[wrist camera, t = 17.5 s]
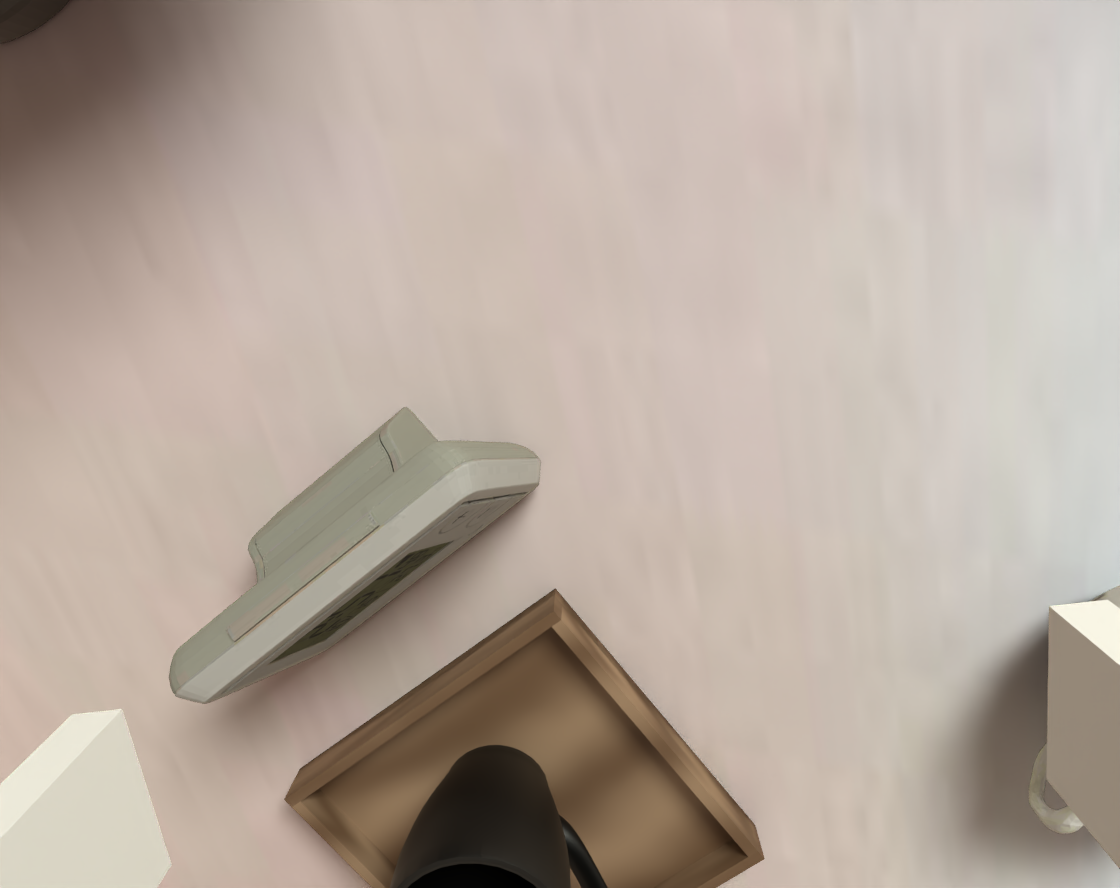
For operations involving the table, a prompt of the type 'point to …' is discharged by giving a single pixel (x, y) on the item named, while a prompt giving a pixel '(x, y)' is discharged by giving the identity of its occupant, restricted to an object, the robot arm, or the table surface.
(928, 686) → the table surface
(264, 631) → the digital clock
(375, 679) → the table surface
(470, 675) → the walnut tray
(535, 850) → the mug
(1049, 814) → the teacup
